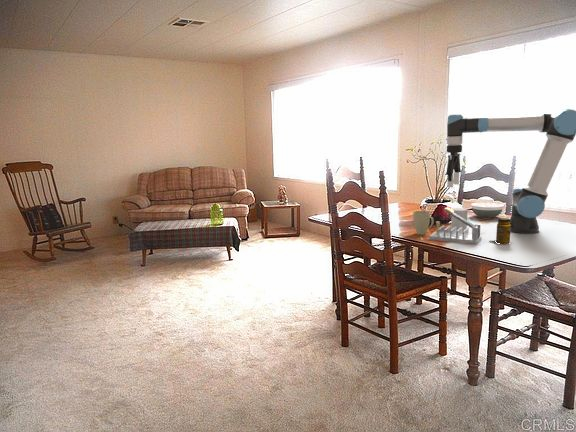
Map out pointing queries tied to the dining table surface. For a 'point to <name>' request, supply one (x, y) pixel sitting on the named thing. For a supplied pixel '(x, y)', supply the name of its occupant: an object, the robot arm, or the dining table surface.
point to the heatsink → (456, 234)
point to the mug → (422, 221)
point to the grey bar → (459, 217)
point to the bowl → (487, 209)
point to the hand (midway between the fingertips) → (453, 185)
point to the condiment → (503, 232)
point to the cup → (456, 222)
